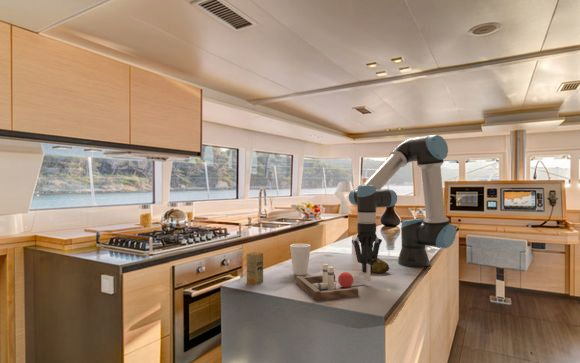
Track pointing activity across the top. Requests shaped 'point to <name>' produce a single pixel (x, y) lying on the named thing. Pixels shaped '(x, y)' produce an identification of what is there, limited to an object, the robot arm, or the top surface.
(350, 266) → the top surface
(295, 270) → the foam cup
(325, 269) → the pin
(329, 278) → the pin
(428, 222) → the robot arm
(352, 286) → the thin gray bar
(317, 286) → the front pin
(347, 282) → the ball
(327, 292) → the rail
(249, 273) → the shoe polish box
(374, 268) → the potato
